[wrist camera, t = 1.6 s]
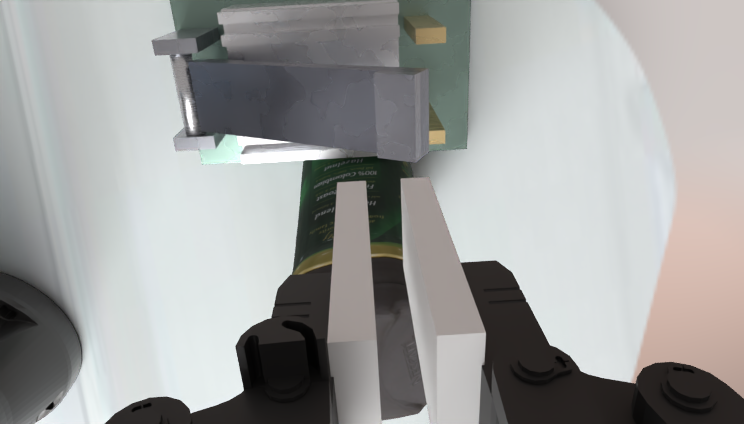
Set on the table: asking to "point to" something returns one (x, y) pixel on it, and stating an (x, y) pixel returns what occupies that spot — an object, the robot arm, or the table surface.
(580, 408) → the robot arm
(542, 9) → the table surface
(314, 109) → the grey rectangular bar
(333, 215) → the coffee jar
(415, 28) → the heatsink base
